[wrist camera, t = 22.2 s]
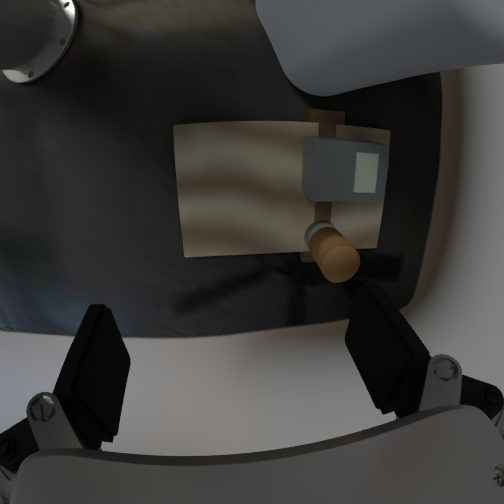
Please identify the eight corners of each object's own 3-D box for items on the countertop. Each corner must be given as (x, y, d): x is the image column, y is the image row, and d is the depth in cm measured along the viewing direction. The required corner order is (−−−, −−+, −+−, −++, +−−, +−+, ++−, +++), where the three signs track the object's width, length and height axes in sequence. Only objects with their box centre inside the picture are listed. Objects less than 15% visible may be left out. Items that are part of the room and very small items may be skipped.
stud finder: (303, 136, 28) (315, 139, 24) (371, 141, 28) (390, 145, 25) (301, 190, 30) (312, 202, 27) (367, 191, 31) (384, 202, 27)
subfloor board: (174, 111, 27) (172, 111, 26) (386, 117, 29) (391, 118, 27) (187, 263, 35) (185, 268, 34) (370, 254, 37) (374, 258, 36)
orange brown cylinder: (305, 220, 32) (324, 247, 26) (337, 219, 33) (362, 245, 26) (303, 252, 34) (320, 284, 28) (334, 250, 34) (356, 280, 28)
